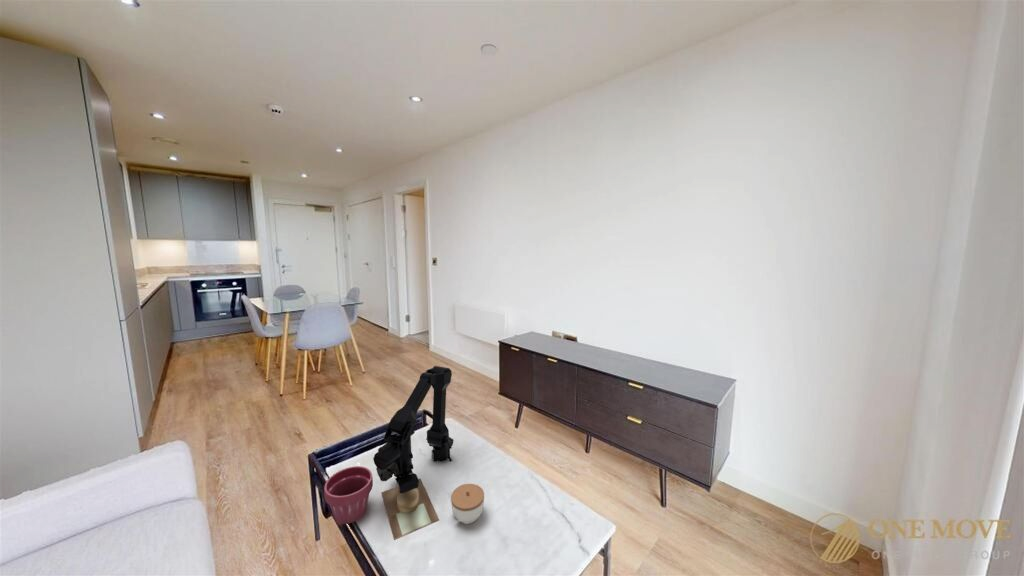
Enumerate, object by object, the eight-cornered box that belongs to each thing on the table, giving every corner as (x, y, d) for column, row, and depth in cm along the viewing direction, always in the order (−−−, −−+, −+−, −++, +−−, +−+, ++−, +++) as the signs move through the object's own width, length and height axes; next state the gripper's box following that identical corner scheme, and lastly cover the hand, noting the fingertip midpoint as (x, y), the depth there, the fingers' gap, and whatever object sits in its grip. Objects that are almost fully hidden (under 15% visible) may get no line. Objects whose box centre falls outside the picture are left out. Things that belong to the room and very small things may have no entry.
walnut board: (420, 481, 126) (420, 478, 125) (439, 523, 107) (439, 520, 107) (381, 495, 118) (381, 492, 118) (394, 543, 100) (394, 540, 100)
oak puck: (416, 494, 117) (415, 484, 117) (421, 508, 111) (420, 497, 111) (395, 502, 114) (394, 491, 113) (399, 516, 108) (399, 505, 107)
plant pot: (383, 508, 113) (381, 474, 111) (346, 541, 100) (343, 503, 99) (355, 493, 119) (353, 460, 118) (317, 522, 107) (314, 486, 105)
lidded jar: (489, 508, 113) (489, 483, 112) (475, 534, 103) (475, 507, 102) (461, 500, 116) (460, 475, 115) (445, 524, 106) (444, 498, 105)
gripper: (373, 443, 119) (375, 483, 121) (382, 475, 103) (384, 520, 105) (405, 434, 124) (407, 472, 126) (418, 464, 108) (420, 506, 111)
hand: (404, 491), depth 117 cm, fingers closed
